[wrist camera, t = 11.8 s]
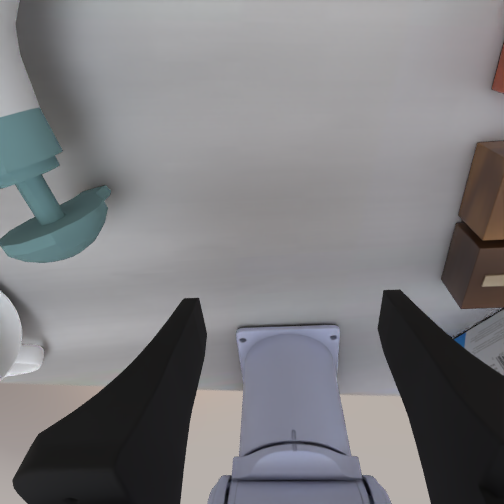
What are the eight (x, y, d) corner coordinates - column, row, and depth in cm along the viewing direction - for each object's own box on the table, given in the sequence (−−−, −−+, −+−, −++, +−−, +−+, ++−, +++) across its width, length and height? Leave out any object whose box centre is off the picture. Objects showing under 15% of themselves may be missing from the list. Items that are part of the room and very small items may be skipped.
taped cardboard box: (508, 276, 24) (538, 307, 21) (440, 279, 24) (461, 310, 22) (532, 218, 22) (568, 245, 19) (455, 222, 22) (480, 249, 19)
